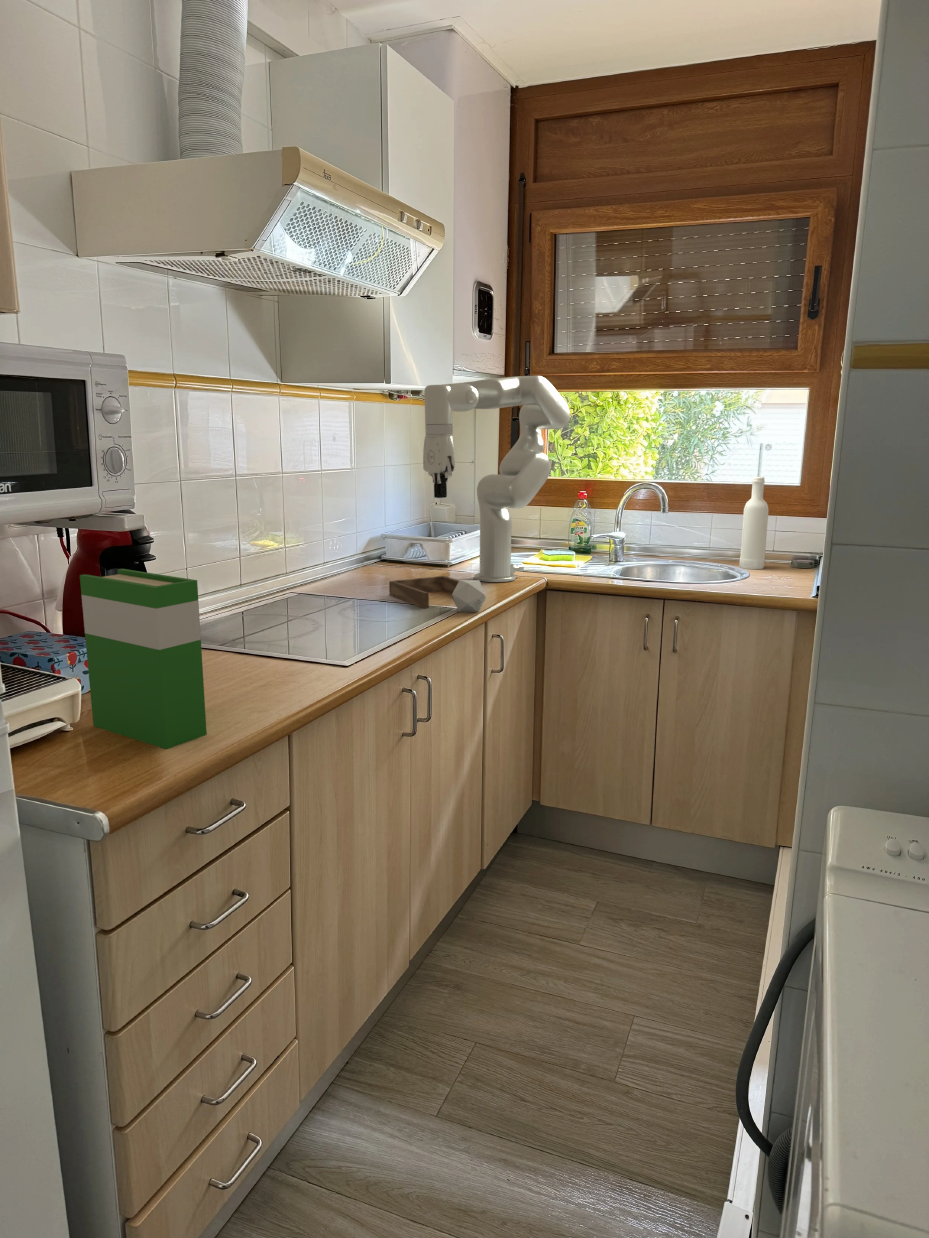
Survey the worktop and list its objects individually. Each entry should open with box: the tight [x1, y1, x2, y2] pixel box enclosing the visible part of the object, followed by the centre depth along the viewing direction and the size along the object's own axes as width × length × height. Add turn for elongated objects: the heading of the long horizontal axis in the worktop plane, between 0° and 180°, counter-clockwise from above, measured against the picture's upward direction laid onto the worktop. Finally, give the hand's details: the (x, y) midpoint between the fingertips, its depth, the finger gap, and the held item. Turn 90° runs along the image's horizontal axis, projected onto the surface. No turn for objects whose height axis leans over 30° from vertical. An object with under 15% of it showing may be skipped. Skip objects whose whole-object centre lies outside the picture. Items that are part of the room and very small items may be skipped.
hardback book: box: [79, 568, 208, 750], centre depth 133 cm, size 18×7×24 cm, turn 56°
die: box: [451, 579, 486, 613], centre depth 223 cm, size 8×9×10 cm
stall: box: [388, 575, 460, 609], centre depth 238 cm, size 17×20×4 cm
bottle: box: [739, 476, 769, 570], centre depth 290 cm, size 8×8×30 cm
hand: (440, 497), depth 247 cm, fingers closed
